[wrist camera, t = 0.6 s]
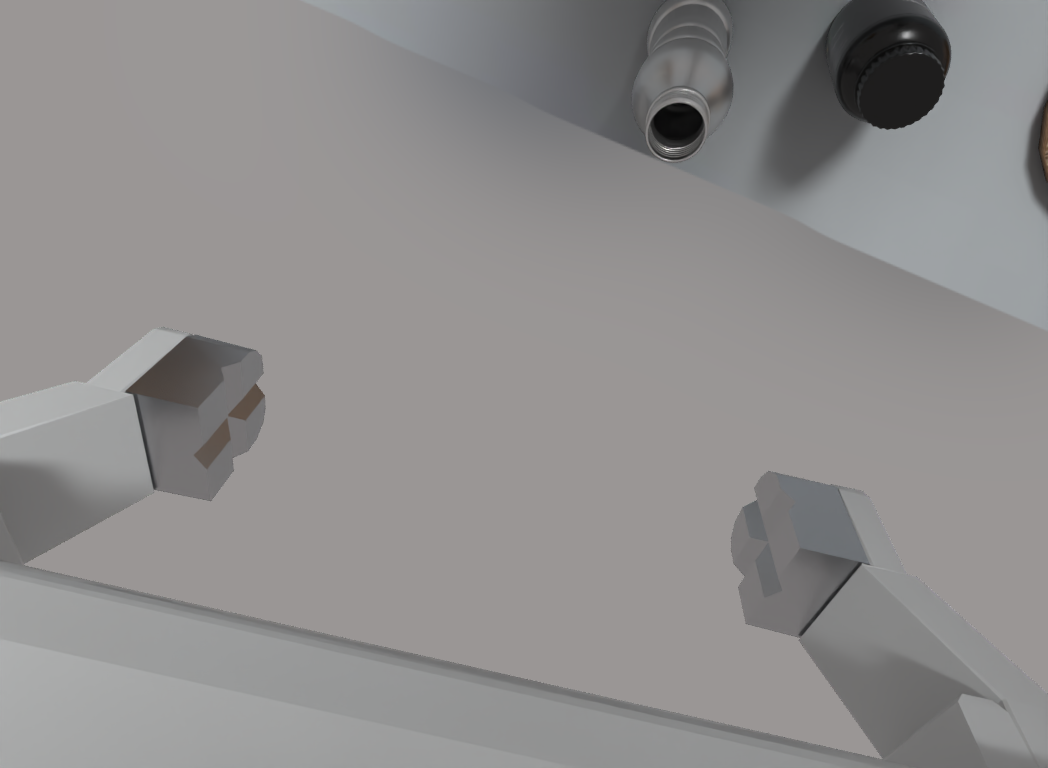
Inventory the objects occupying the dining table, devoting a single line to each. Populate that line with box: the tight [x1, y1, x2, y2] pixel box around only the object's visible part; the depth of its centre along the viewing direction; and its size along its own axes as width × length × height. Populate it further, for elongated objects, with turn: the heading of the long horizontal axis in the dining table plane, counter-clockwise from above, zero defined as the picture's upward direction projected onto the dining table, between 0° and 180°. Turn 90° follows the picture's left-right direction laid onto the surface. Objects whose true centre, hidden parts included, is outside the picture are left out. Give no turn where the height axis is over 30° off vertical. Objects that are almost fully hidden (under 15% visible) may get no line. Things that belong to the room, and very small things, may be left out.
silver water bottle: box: [631, 0, 733, 163], centre depth 43 cm, size 6×7×20 cm
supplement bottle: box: [826, 0, 951, 130], centre depth 43 cm, size 7×7×12 cm
